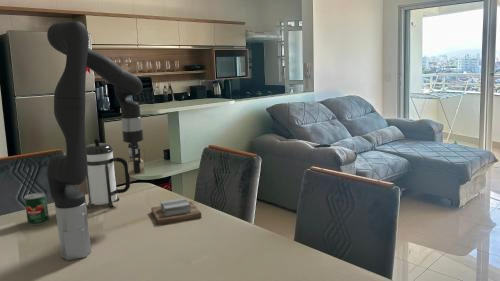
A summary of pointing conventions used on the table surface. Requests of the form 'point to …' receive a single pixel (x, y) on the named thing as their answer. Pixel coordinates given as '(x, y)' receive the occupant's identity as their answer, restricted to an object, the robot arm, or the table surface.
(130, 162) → the maple block
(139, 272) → the table surface
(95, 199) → the coffee press
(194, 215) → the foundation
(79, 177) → the robot arm
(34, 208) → the canned tomato
